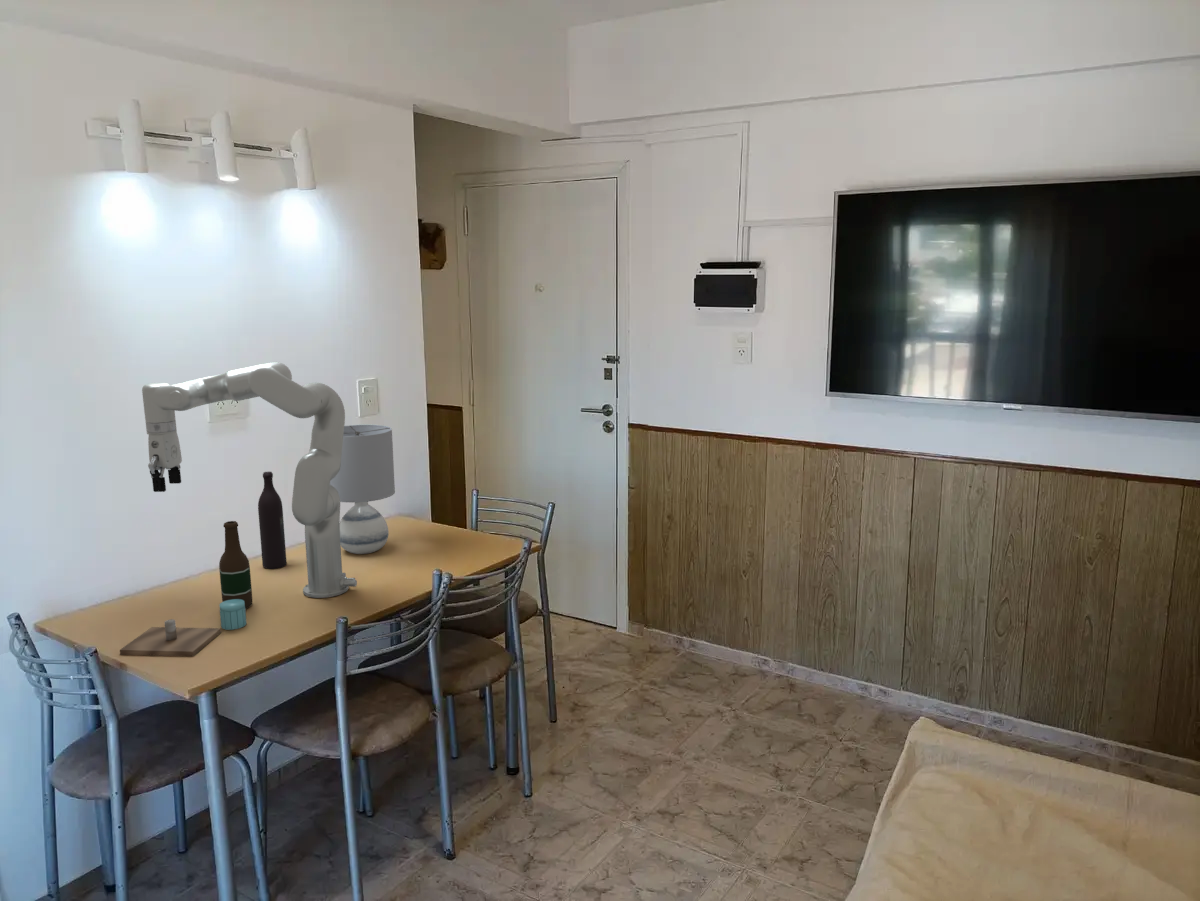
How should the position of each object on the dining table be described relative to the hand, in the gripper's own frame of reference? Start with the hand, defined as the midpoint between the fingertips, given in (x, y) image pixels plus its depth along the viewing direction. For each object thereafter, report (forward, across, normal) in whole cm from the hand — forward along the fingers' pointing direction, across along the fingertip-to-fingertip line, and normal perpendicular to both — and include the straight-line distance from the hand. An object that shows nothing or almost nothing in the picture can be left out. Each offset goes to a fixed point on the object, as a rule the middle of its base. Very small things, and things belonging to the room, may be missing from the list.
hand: (167, 487), depth 247 cm
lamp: (+31, +36, -45) cm, 66 cm away
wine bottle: (+31, +21, -21) cm, 43 cm away
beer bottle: (+31, -13, -22) cm, 40 cm away
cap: (+31, -26, -25) cm, 48 cm away
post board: (+31, -38, -14) cm, 51 cm away
